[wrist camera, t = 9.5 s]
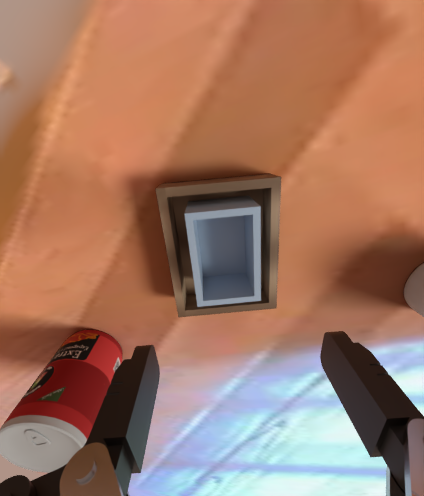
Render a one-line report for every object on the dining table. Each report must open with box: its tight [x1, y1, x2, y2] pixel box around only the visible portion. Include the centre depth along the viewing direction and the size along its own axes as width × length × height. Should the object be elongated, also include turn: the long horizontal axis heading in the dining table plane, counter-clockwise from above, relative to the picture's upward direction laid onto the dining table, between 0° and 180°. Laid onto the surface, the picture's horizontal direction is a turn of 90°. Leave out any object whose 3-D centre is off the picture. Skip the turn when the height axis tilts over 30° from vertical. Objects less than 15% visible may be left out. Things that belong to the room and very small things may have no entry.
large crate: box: [156, 174, 281, 317], centre depth 23 cm, size 14×11×4 cm
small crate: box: [184, 195, 261, 307], centre depth 21 cm, size 9×6×5 cm, turn 5°
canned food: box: [0, 330, 122, 473], centre depth 25 cm, size 8×8×11 cm
